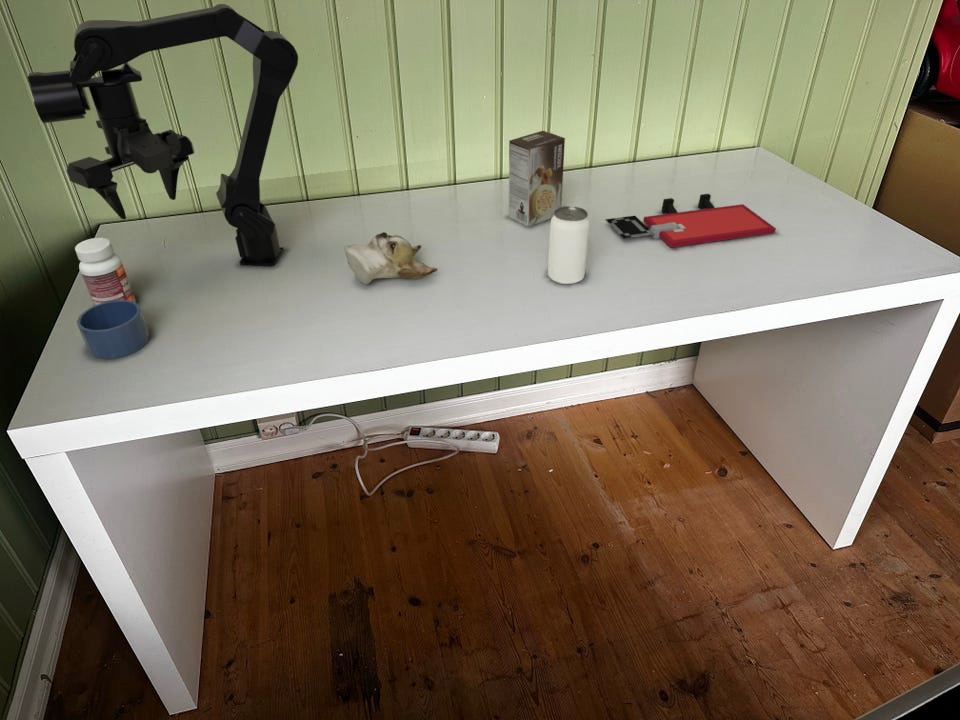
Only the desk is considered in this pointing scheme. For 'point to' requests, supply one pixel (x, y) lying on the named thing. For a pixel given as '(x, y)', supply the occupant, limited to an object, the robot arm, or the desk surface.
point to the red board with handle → (694, 224)
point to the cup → (113, 329)
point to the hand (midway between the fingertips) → (148, 208)
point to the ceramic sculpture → (385, 259)
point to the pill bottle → (103, 271)
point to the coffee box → (535, 177)
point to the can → (568, 245)
